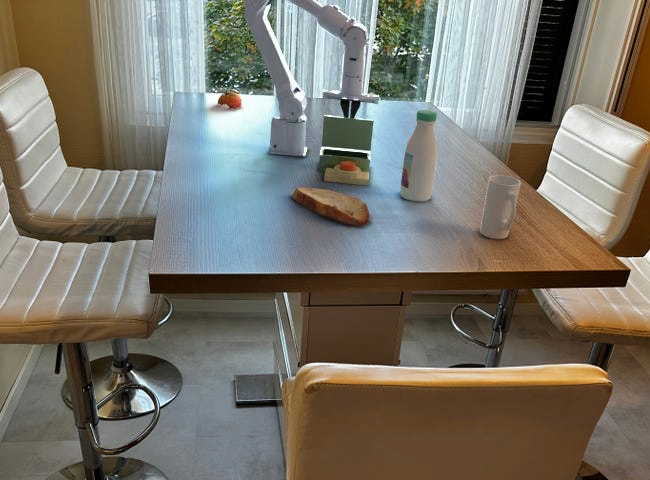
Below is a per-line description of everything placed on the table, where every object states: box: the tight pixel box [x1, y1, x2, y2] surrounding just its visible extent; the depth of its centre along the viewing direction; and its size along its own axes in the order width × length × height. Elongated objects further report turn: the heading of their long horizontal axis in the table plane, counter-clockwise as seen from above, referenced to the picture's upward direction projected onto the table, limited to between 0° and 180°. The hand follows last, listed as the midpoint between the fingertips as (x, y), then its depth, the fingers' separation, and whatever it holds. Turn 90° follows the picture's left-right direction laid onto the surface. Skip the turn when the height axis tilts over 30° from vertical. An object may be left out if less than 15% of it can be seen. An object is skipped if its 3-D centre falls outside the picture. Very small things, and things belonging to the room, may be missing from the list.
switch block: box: [323, 165, 370, 186], centre depth 176 cm, size 11×7×3 cm, turn 88°
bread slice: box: [291, 187, 370, 227], centre depth 156 cm, size 18×18×4 cm
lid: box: [321, 115, 374, 152], centre depth 183 cm, size 8×13×1 cm
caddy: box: [318, 146, 371, 173], centre depth 183 cm, size 7×13×4 cm, turn 88°
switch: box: [340, 161, 355, 171], centre depth 174 cm, size 4×4×2 cm
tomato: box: [217, 90, 243, 110], centre depth 228 cm, size 8×7×7 cm
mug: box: [479, 174, 522, 240], centre depth 149 cm, size 10×7×12 cm, turn 15°
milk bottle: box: [399, 109, 439, 202], centre depth 165 cm, size 8×8×20 cm
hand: (348, 129), depth 187 cm, fingers closed
